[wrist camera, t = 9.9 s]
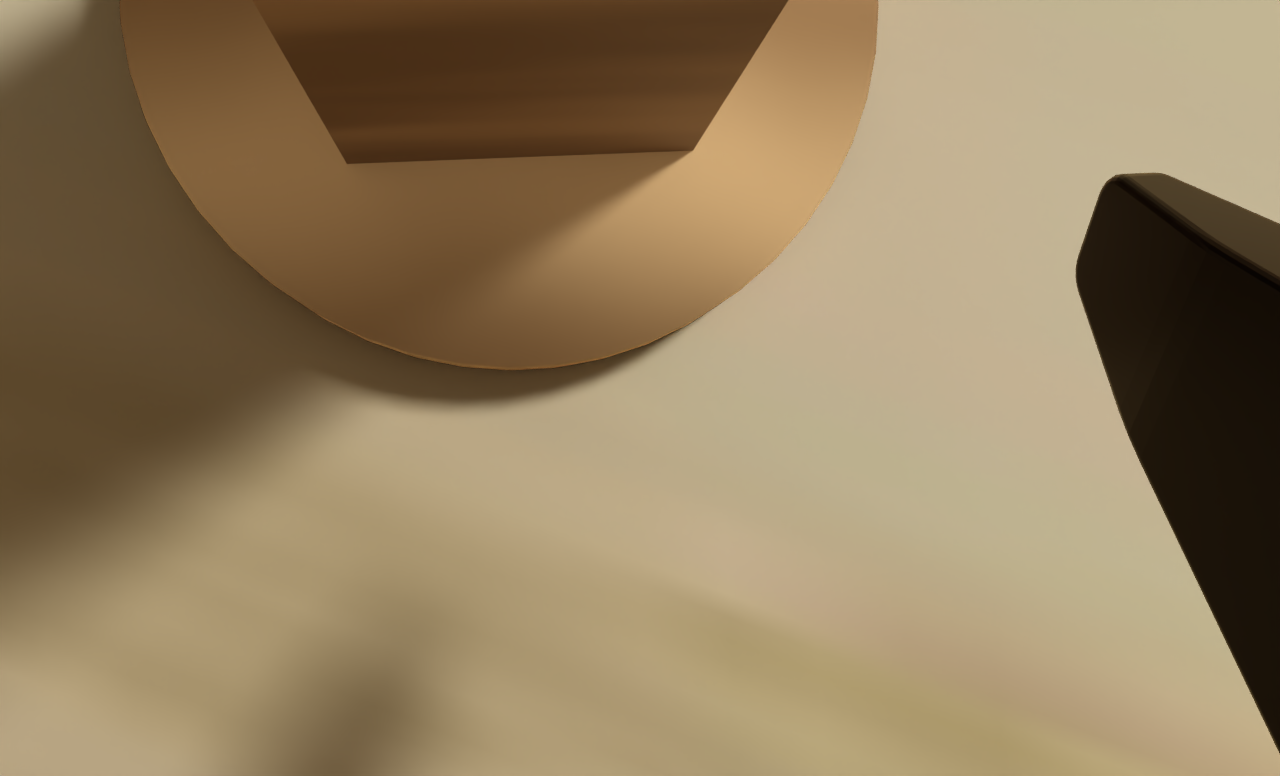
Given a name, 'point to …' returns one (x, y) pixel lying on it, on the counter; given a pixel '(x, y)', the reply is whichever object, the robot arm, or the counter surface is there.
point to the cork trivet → (499, 194)
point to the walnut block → (516, 73)
